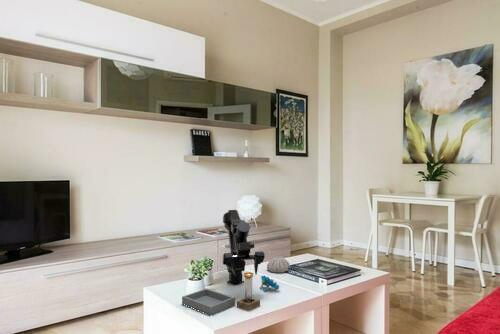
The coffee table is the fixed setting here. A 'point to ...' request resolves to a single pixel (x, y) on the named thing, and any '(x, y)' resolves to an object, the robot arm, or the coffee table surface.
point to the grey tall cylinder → (248, 287)
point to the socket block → (248, 304)
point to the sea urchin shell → (278, 265)
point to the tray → (208, 301)
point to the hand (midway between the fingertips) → (246, 274)
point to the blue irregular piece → (268, 283)
